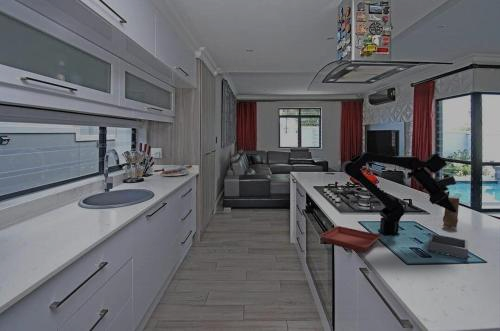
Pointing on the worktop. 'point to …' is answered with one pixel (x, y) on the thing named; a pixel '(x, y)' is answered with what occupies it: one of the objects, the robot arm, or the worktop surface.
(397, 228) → the robot arm
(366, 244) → the plant saucer
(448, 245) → the box
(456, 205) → the handle block
